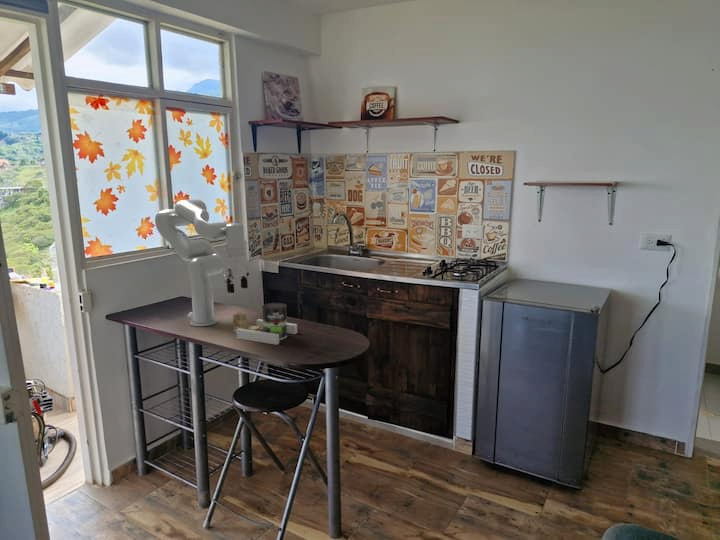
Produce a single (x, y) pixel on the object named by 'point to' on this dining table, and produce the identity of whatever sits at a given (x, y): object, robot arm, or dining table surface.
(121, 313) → the dining table surface
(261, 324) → the white rectangular posts
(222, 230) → the robot arm
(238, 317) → the wooden rectangular block
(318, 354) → the dining table surface
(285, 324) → the coffee can
